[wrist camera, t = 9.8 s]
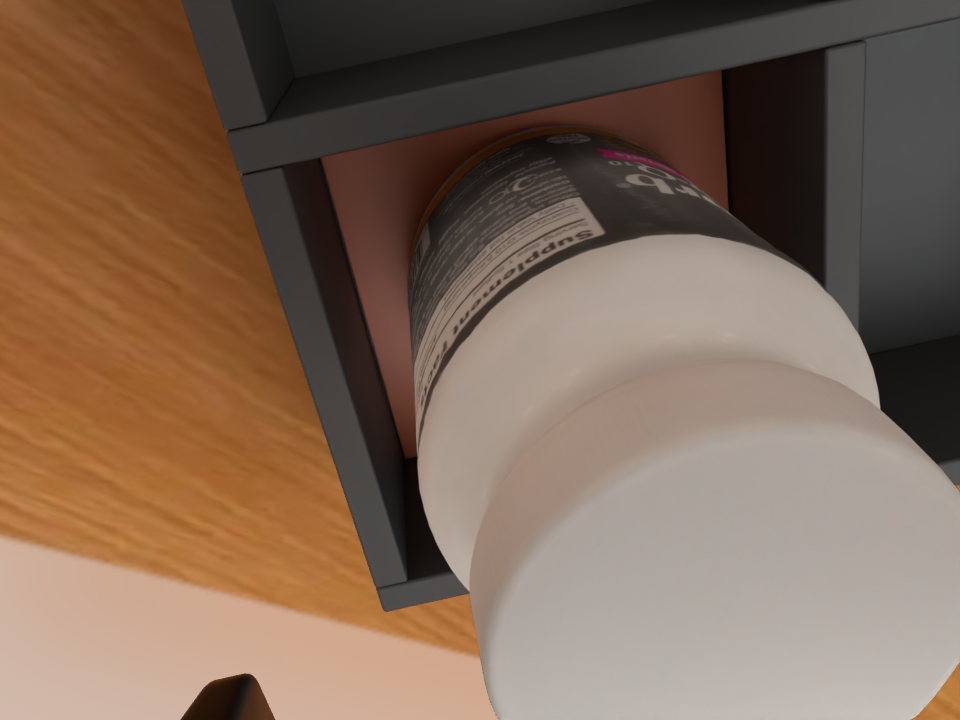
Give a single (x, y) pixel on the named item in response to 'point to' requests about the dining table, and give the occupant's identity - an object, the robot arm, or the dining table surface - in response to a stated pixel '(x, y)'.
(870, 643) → the pill bottle
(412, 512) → the grid
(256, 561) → the dining table surface
